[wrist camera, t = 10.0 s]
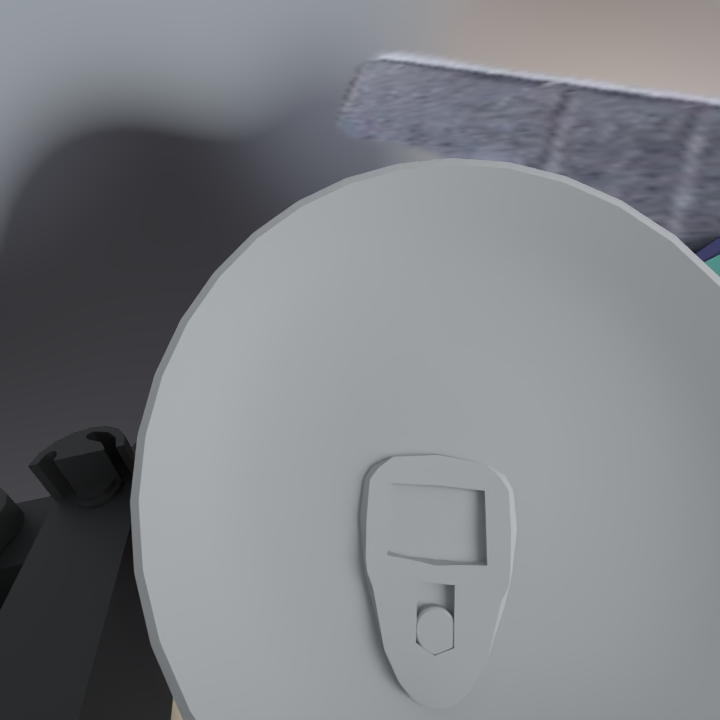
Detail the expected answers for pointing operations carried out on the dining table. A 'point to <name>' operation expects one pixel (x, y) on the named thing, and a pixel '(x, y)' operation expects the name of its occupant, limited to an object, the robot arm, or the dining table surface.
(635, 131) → the dining table surface
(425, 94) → the dining table surface
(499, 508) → the canned food
